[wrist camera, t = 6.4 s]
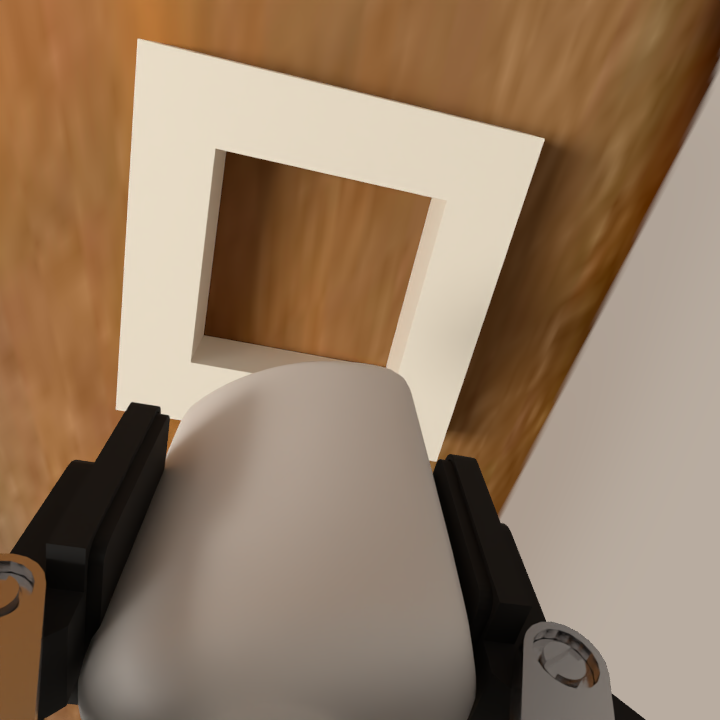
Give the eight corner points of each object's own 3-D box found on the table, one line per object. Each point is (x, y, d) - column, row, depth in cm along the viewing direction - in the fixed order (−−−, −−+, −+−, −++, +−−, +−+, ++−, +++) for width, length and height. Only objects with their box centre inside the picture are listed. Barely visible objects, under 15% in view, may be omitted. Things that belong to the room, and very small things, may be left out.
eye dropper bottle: (377, 511, 16) (475, 1369, 6) (172, 462, 15) (-201, 1398, 4) (437, 376, 15) (751, 1246, 4) (210, 310, 14) (-249, 1245, 3)
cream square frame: (160, 42, 23) (137, 38, 20) (521, 131, 25) (545, 138, 22) (135, 378, 29) (115, 409, 27) (427, 428, 31) (436, 461, 29)
